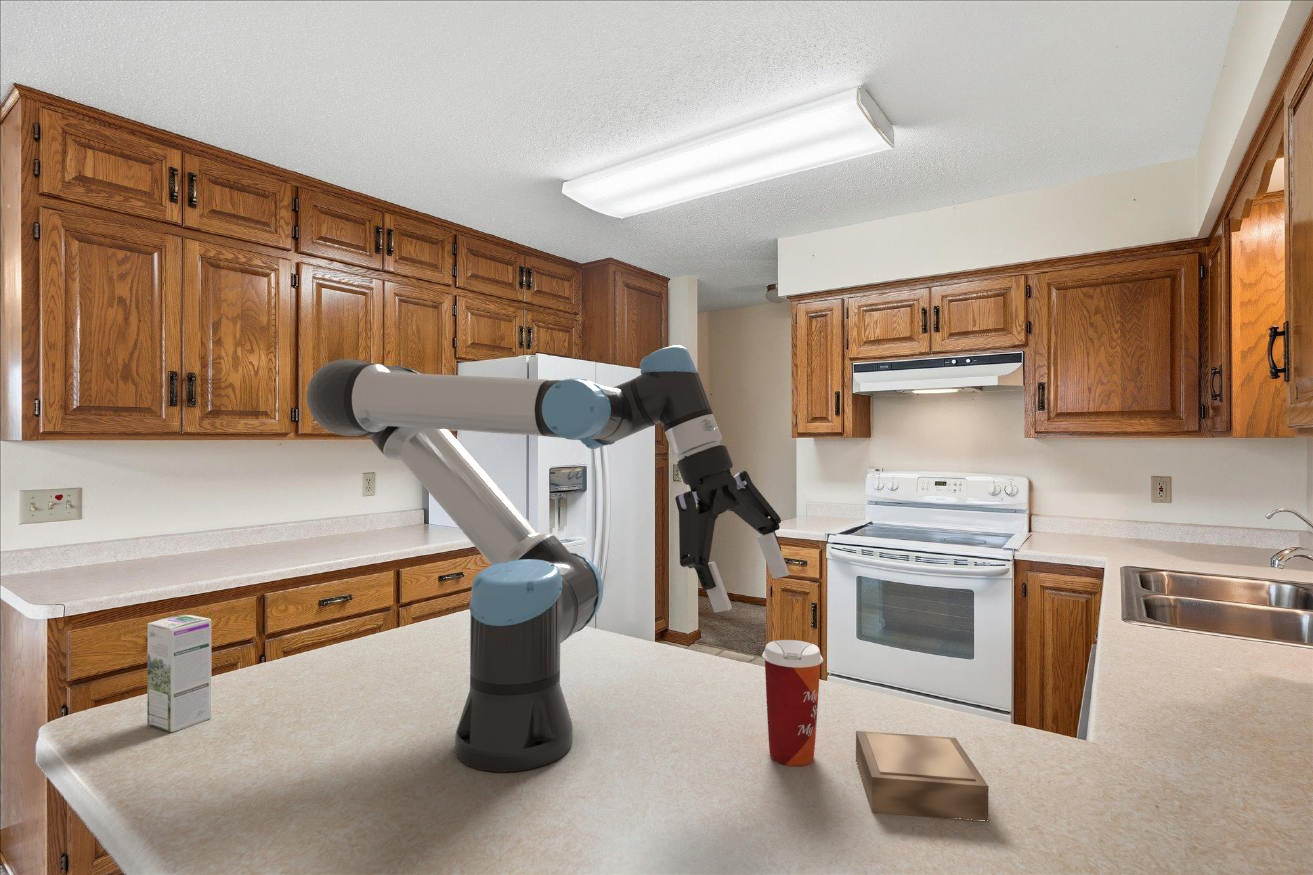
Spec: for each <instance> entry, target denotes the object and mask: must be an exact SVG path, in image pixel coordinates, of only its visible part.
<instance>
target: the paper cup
mask: <svg viewBox="0 0 1313 875" xmlns="http://www.w3.org/2000/svg"><path fill="white" fill-rule="evenodd" d="M761 657H762V659H763V660H764V669H765V670H764V671H765V672H764V674H765V690H766V691H765V692H766V694H765V696H766V715H767V717H766V718H767V732H768V733H767V734H768V750H769V751H768V752H769V756H770V759H771V760H772V761H774V762H775V763H778V764H780V765H783V766H788V767H797V768H798V767H805V766H808V765H810V764H812V762H813V761H814V759H815V758H814V757H815V748H816V735H817V734H816V733H817V725H818V724H817V720H818V707H819V692H820V690H819V689H820V676H821V675H820V674H821V664H822V663H823V662H824V658H823V657H822V655H821V651H820V647H818V645H816V644H813V643H810V642H807V641H803V640H795V639H781V640H772V641H770V642H768V643H766V645H765V648H764V651H763V653H762V655H761Z"/></svg>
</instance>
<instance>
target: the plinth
mask: <svg viewBox="0 0 1313 875" xmlns="http://www.w3.org/2000/svg"><path fill="white" fill-rule="evenodd" d="M856 762H857V763H856ZM855 763H856V766H857V765H858V766H857V769H859V770H858V773H859V772H860V773H859V775H861V776H860V778H862V779H861V782H862V785H863V788H865V789H864V791H865V794H866V798H867V802H868V804H869V808H870V811H871V812H872V813H878V814H879V813H881V814H890V815H892V814H893V815H902V816H903V815H904V816H915V817H924V818H925V817H927V818H936V817H938V818H939V819H948V818H958V819H957V820H959V818H961V819H969V820H968V821H971V819H972V820H985V821H987V820H988V821H989V785H988V784H987V782H986V780H985V779H984V777H983V776H982V774H981V773H980V772H979V770H978V769H977V767H976V766H975V764H974V762H973V761H972V759H971V758H970V757H969V755H968V753H967V752H966V751H965V750H964V748H963V746H962V745H961V743H960V742H959V741H958V739H957V737H953V736H952V737H950V736H949V737H947V736H936V735H921V734H920V735H919V734H909V733H908V734H906V733H905V734H904V733H891V732H879V731H878V732H877V731H867V730H866V731H863V730H855ZM942 817H943V818H942ZM938 818H937V819H938Z"/></svg>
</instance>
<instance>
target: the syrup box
mask: <svg viewBox="0 0 1313 875" xmlns="http://www.w3.org/2000/svg"><path fill="white" fill-rule="evenodd" d="M146 644H147V645H146V646H147V649H146V650H147V651H146V652H147V656H146V657H147V658H146V661H147V663H146V665H147V667H146V668H147V672H146V673H147V674H146V675H147V682H146V683H147V684H146V685H147V689H146V690H147V691H146V694H147V700H146V701H147V702H146V703H147V706H146V707H147V714H146V715H147V716H146V717H147V719H146V720H147V721H146V722H147V724H146V725H147V726H150V727H153V728H156V729H160V730H163V731H166V732H169V733H174V732H177V731H179V730H184V729H186V728H188V727H193V726H195V725H197V724H200V723H202V722H205V721H208V720H210V719H211V718H212V619H211V618H209V617H203V616H198V615H193V614H192V615H191V614H180V615H174V616H169V617H165V618H161V619H158V620H155V621H151V622H147V643H146Z"/></svg>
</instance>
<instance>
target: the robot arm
mask: <svg viewBox="0 0 1313 875" xmlns="http://www.w3.org/2000/svg"><path fill="white" fill-rule="evenodd" d="M639 368H640V374H639V375H638V376H636V377H634V378H632V379H630V380H628V381H625V382H624V383H623V382H622V383H620V384H618V385H616V386H613V387H611V386H610V387H609V386H608V385H607V386H606V385H603V384H602V385H601V384H598V383H596V382H593V381H591V380H589V379H585V378H584V379H583V378H566V379H563V380H562V379H560V380H559V379H552V380H550V379H546V378H545V379H542V378H522V377H521V378H517V377H499V376H497V377H496V376H480V375H479V376H476V375H475V376H474V375H455V374H453V375H452V374H438V373H437V374H435V373H434V374H433V373H430V374H429V373H421V372H418V371H416V370H414V369H411V368H407V367H404V366H400V365H386V364H385V365H384V364H380V363H375V362H369V361H366V360H365V361H363V360H360V359H359V360H358V359H352V358H351V359H350V358H346V359H338V360H334V361H331V362H328V363H326V364H324V365H323V366H322V367H320V368H319V369H318V370H317V371H316V372H315V373H314V374H313V375H312V377H311V378H310V380H309V383H308V385H307V389H306V403H307V408H308V410H309V412H310V416H312V418H313V419H314V421H315V422H316V423H317V424H319V426H320V427H322V428H323V429H325V430H326V431H328V432H331V433H333V434H335V435H339V436H345V437H359V438H360V437H363V438H364V437H367V438H369V439H370V440H371V442H373V444H374V445H375V447H376V448H378V450H379V451H380V452H381V453H382V454H383V455H384V457H385V458H387V459H388V460H392V461H394V460H395V461H402V463H403V464H404V465H405V466H406V467H407V468H408V469H409V471H410V472H411V473H412V475H414V477H415V478H416V479H417V480H418V482H420V484H421V485H422V487H424V489H426V491H427V492H428V493H429V494H430V495H431V496H432V497H433V499H434V500H435V501H436V502H437V503H438V505H439V506H440V507H441V508H442V509H443V511H444V512H445V513H446V514H447V515H448V516H449V517H450V518H451V520H452V521H453V522H454V524H455V525H456V526H458V528H459V529H460V530H461V531H462V533H463V534H464V535H465V536H466V537H467V538H468V540H469V541H470V542H471V543H472V544H473V545H474V546H475V548H476V549H477V550H478V551H479V552H480V554H481V555H482V556H483V557H484V558H485V559H486V561H487V562H488V564H489V565H490V566H487V567H485V568H484V569H482V570H481V571H479V572H478V573H477V574H476V575H475V577H474V578H473V580H472V584H471V595H470V598H469V611H470V616H469V618H470V621H469V623H470V624H469V625H470V628H469V629H470V630H469V633H470V636H469V637H470V640H469V642H470V643H469V644H470V645H469V647H470V648H469V650H470V651H469V662H470V664H469V673H470V674H469V676H470V677H469V679H470V680H469V692H468V694H467V698H466V700H465V704H464V706H463V709H462V712H461V716H460V719H459V722H458V725H457V728H456V730H455V741H454V742H455V743H454V749H455V750H454V751H455V752H454V753H455V755H456V758H458V759H457V760H459V761H460V762H462V763H463V764H464V765H466V766H469V767H471V768H474V769H476V770H477V769H478V770H483V771H487V772H488V771H489V772H501V773H502V772H504V773H506V772H517V771H520V772H521V771H526V770H532V769H536V768H539V767H543V766H546V765H549V764H551V763H553V762H555V761H558V760H559V759H561V758H562V757H564V756H565V755H566V754H567V753H568V752H569V751H570V750H571V748H572V746H573V737H574V736H573V729H574V728H573V727H574V726H573V721H572V717H571V714H570V712H569V709H568V705H567V702H566V699H565V696H564V693H563V690H562V686H561V644H562V643H563V642H564V641H566V640H567V639H569V637H571V636H573V635H574V634H576V633H577V632H580V631H582V630H583V629H584V628H585V627H586V626H587V625H588V624H589V623H590V622H591V621H592V620H593V619H594V618H595V616H596V615H597V613H598V611H599V610H600V607H601V605H602V603H603V598H604V597H603V596H604V584H603V580H602V577H601V573H600V571H599V569H598V568H597V567H596V565H595V563H594V562H593V561H592V560H590V559H589V558H588V557H586V556H584V555H582V554H579V553H576V552H570V551H569V550H568V548H566V546H565V545H564V544H563V543H562V542H561V541H560V540H559V539H558V538H557V537H556V536H555V535H554V534H553V533H541V532H539V531H538V530H537V528H535V527H534V525H533V524H532V523H531V522H530V521H529V520H528V519H527V517H525V515H524V514H523V513H522V512H521V511H520V509H519V508H518V507H517V506H516V505H515V504H514V503H513V502H512V500H511V499H510V498H509V497H508V496H507V495H506V494H505V493H504V491H503V490H502V489H501V488H500V487H499V486H498V484H497V483H495V481H494V480H493V479H492V478H491V477H490V475H488V473H487V472H486V471H485V470H484V468H482V466H481V465H480V464H479V463H478V462H477V461H476V459H474V457H473V456H472V455H471V454H470V453H469V451H468V450H466V448H464V446H463V445H462V444H461V443H460V441H459V440H458V439H457V438H456V436H454V435H453V434H452V432H451V431H459V432H472V433H473V432H475V433H476V432H477V433H490V434H505V435H506V434H508V435H519V436H521V435H522V436H537V437H550V438H562V439H565V440H570V441H571V440H572V441H573V440H574V441H576V440H577V441H580V442H581V443H582V444H583V445H584V446H585V447H586V448H587V449H591V450H596V449H599V448H602V447H605V446H611V445H613V444H615V443H616V442H617V441H618V442H619V441H620V440H623V439H624V438H627V437H630V436H631V435H634V434H636V433H639V432H641V431H643V430H645V429H648V428H650V427H654V426H657V425H658V424H661V426H662V428H663V432H664V433H665V436H666V439H667V442H668V444H669V445H668V446H669V447H670V451H671V453H672V455H673V458H676V459H677V458H678V461H677V463H676V467H677V469H678V471H679V473H680V474H679V475H680V476H681V479H682V482H683V483H684V485H686V486H689V489H690V490H688V491H685V492H683V493H680V494H677V495H676V496H675V497H674V498H675V499H674V500H675V504H676V507H677V511H678V536H679V565H680V566H681V567H683V568H687V567H688V568H689V569H694V570H695V571H696V575H697V578H698V580H699V583H700V585H701V588H702V589H703V590H704V591H706V593H707V596H708V599H709V602H710V604H711V607H712V609H713V612H714V613H720V612H725V611H730V610H732V609H733V607H732V603H731V600H730V598H729V596H728V593H727V590H726V587H725V585H724V583H723V579H722V577H721V574H720V571H719V569H718V566H717V563H716V561H711V562H710V557H711V552H712V544H713V538H714V533H715V532H714V531H715V525H716V520H717V519H718V518H719V515H722V514H724V513H725V512H727V511H728V512H733V514H735V515H737V516H738V517H739V518H740V519H742V520H743V521H744V522H745V523H746V524H748V525H749V526H750V527H751V528H752V529H754V530H755V531H756V532H757V533H758V534H760V535H759V536H757V537H756V539H757V541H758V544H759V546H760V549H761V552H762V554H763V556H764V559H765V562H766V564H767V567H768V570H769V573H770V575H771V577H772V579H773V580H774V579H779V578H783V577H788V576H789V575H790V571H789V568H788V567H787V563H786V561H785V559H784V556H783V554H782V547H781V544H780V541H779V539H778V537H777V533H776V531H778V530H780V524H781V523H782V519H781V517H780V515H779V514H778V513H777V511H776V510H775V509H774V508H773V507H772V505H771V504H770V502H768V501H767V499H766V498H765V497H764V495H763V494H762V493H761V492H760V490H759V489H758V488H757V487H756V485H755V484H754V483H753V481H752V480H751V479H752V478H751V477H750V474H749V472H748V471H746V470H743V471H740V472H737V473H736V474H732V472H731V470H732V469H733V466H734V463H733V461H732V459H731V455H730V454H729V451H728V448H727V445H725V444H721V443H720V442H722V440H723V436H722V434H721V431H720V428H719V426H718V423H717V421H716V418H715V416H714V412H713V410H712V408H711V404H710V401H709V399H708V396H707V394H706V393H707V392H706V391H705V388H704V385H703V384H702V380H701V376H700V374H699V371H698V370H697V368H696V365H695V364H694V362H693V359H692V357H691V355H690V353H689V351H688V349H687V348H686V347H684V346H682V345H671V346H667V347H664V348H660V349H657V350H655V351H653V352H651V353H650V354H649V355H646V356H644V357H643V358H642V359H641V360H640V363H639Z"/></svg>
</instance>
